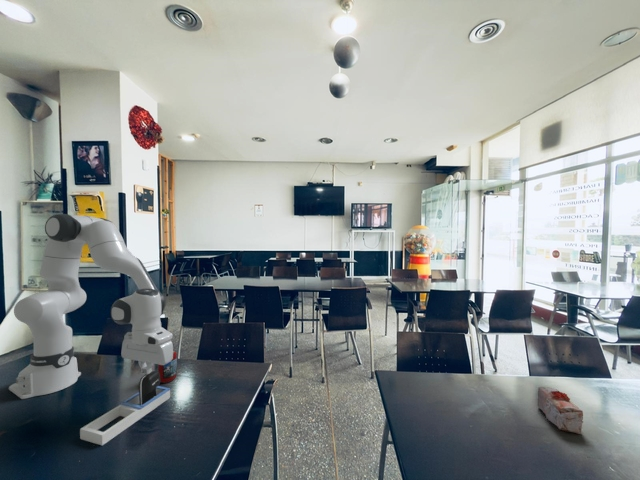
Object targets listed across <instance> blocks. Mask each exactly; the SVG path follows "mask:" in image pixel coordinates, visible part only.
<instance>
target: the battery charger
mask: <svg viewBox="0 0 640 480" xmlns="http://www.w3.org/2000/svg"><path fill="white" fill-rule="evenodd" d="M160 385H161V382H160V373H159V372H158V371H156V370H155V371H154V370H152V372H151V373H149V374H145V373H144V375H143V376H141V378H140V379H139V383H138V392H139V401H140V403H139V405H143V404H144V403H146V402H148V401H149V400H151V399H152V398H154V397H155V396H157V394H156V387H157V386H160Z"/></svg>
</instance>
